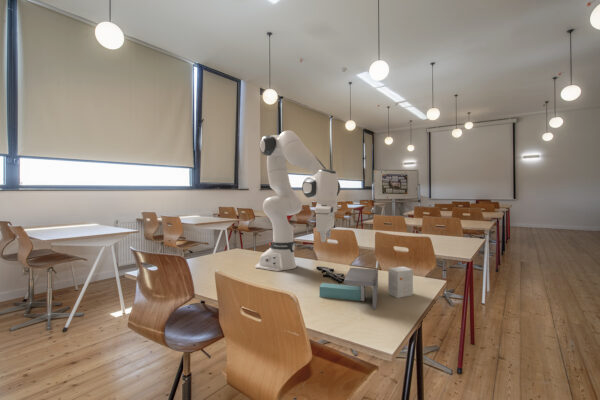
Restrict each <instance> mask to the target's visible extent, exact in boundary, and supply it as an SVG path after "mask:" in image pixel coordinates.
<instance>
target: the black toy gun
mask: <svg viewBox="0 0 600 400" xmlns="http://www.w3.org/2000/svg"><path fill="white" fill-rule="evenodd" d="M316 270H318V271H321V270H322V271H321V273H322V275H323V278H330V279H331V280H333V281H335V282H337V283H338V284H340V285H343V283H344V279H345V277H346V276H345V274H344V273H335V269H334V268H330V267H327V266H319V265H317V266H316ZM325 272H326V273H325Z"/></svg>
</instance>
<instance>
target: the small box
mask: <svg viewBox="0 0 600 400" xmlns="http://www.w3.org/2000/svg"><path fill="white" fill-rule="evenodd" d="M387 271H388V277H387V279H388V284H387V285H388V286H387V287H388V288H387V289H388V290H387V292H388V294H389V295H390V296H392V297H395V298H396V299H400V298H406V297H409V296H413V295H414V287H413V286H414V285H413V284H414V282H413V281H414V269H412V268H409V267H406V266H404V265H403V266H397V267H396V266H395V267H390V268H388V269H387Z"/></svg>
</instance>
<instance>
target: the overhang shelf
mask: <svg viewBox="0 0 600 400" xmlns="http://www.w3.org/2000/svg"><path fill="white" fill-rule="evenodd" d="M344 277H345V279H344V282H343V283H344V284H343V285H352V286H361V302H364V301H365V298H366V287H372V309H373V310H376V309H377V304H378V303H377V302H378V295H379V294H378V293H379V292H378V291H379V289H378V288H379V270H378V269H377V268H362V267H361V268H360V267H350V268H349V270H348V271H347V274H346V276H344Z"/></svg>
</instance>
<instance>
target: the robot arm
mask: <svg viewBox="0 0 600 400" xmlns="http://www.w3.org/2000/svg"><path fill="white" fill-rule="evenodd" d="M259 150H260V153H262V155H264V156H267V157H266V169H267V170H266V171H267V172H266V173H267V177H268V184H269V187H270V189H272V191H274V192H275V194H276V195H273V196H270V197H266V199H264V200H263V203H262V211H263V213H264V214H265V215H266V216H267V217H268V219H269V220H270V222H271V226H272V238H273V239H272V241H270V242H269V244H268V246H270V247H269V248H268V249H267V250H265V251H264V252H263V253H262V254H260V256H259V262H258V263H256V264H255V266H254V267H255V268H256V269H261V270H268V271H274V272H275V271H276V272H281V271H287V270H294V269H296V268H297V263H296V258H295V241H294V226H293V225H292V224H291V223H290V222H289V220H288V216H294V215H296V214H299V213H300V212H301V211H302V208H303V201H302V199H301V198H300V197H298V196H297V195H296V193H295V191H294V190H293V187H292V185H291V182H290V177H289V172H288V167H287V162H288V164H290V165H292V166H293V167H298V168H303V169H306V170H308V171H310V172H311V173H312V174H313V175H311V176H309V177H306V178H305V179H304V180H303V182H302V186H301V190H302V194H303V196H305V198H308V199H316V205H315V208H314V213H315V214H316V215H315V224H316V225H315V227H316V232H318V233H320V234H319V236H320V242H321V243H326V241H327V239H330V238H331V232H332V228H334V227H335V220H336V219H335V217H336V216H335V213H338V202H339V201H338V196H339V194H340V191H341V185H340V181H339V178H338V177H339V176H338V172H337V171H336V170H333V169H328V168H326V167H325V166H324V164H323V163H322V162H321V160H320V159H318V157H317V156H315V155H314V154H313V153H312V152H311V151H310V150H309V149H308V148H307V147H306V145H304V143H303V141H302V140H301V138H300V137H299V136H298V135H297V134H296V133H295V131H293V130H284V131H282V132H281V133H280V134H274V135H273V134H272V135H270V134H268V135H264V136H262V137H261V139H260V141H259ZM286 161H287V162H286Z"/></svg>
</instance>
